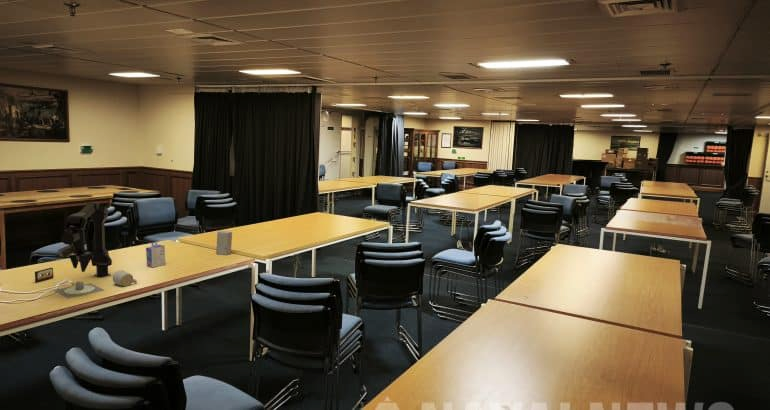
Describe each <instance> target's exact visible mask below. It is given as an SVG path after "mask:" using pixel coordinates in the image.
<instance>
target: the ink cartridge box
mask: <svg viewBox="0 0 770 410" xmlns="http://www.w3.org/2000/svg"><path fill="white" fill-rule="evenodd" d="M145 253H146V254H145V255H146V268H147V267H148V268H156V267H160V266H164V265H166V246H165V245H164V244H163V245H162V244H158V243H157V242H156V241H155V242H151V246H147V247H145Z"/></svg>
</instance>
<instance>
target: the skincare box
mask: <svg viewBox="0 0 770 410" xmlns="http://www.w3.org/2000/svg"><path fill="white" fill-rule="evenodd" d="M216 233H217V234H216V248H215V249H216V251H215V253H216V255H221V256H222V255H223V256H228V255H230V254H232V240H233V231H229V230H220V231H219V230H218V231H216Z"/></svg>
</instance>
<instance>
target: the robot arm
mask: <svg viewBox="0 0 770 410" xmlns="http://www.w3.org/2000/svg"><path fill="white" fill-rule="evenodd" d="M108 215H109V209H108V208H107V207H106V206H105V205H102V204H100V203H99V202H87V203H86V205H85V206H84V207H83V208H82V209H81V210H79V212H76V213H72V214H71V215H69V216H68V217H67V219H66V222H65V224H64V225H65V226H64V229H63V230H64V231H65V232H64V233H63V234H62V235H61V236H60V237H61V238H60V241H61V242H62V243H63V244H64V245H66V246H64V247H62V248H60V249H58V250H57V253H58V255H59V256H60V257H62V258H66V257H68V258H69V260H70V261H71V264H72V267H73V269H77V268H78V265H80V270H81V272H82V273H84V272H85V271H86V269H87V268H88V266H89V264H90V262H91V265H92V267H96V269H95V271H96V272H95V273H96V274H93V276H95V277H97V278H104V277H108V276H109V277H111V276H112V275H111V274H110V273H109V267H110V266H112V264H113V260H112V258H111V257H110V255H109V251H108V250H107V248H106V238H105V237H106V236H105V235H106V233H105V222H106V220H107V219H108ZM88 218H90V219H91V221H92V222H93V224H94V229H93V230H94V231H93V232H94V250H93V251H92V252H89V251H88V250H87V249H86V245H87V241H86V240H85V239H86V238H85V231H86V226H87V223H88Z"/></svg>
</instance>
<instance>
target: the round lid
mask: <svg viewBox="0 0 770 410" xmlns="http://www.w3.org/2000/svg"><path fill="white" fill-rule="evenodd" d="M74 284H75V285H74V286H70V288H69V287H66V288H67V289H66V290H64V293H65V294H70V295H77V294H85V293H89V292H92V291H93V290H95V287H94V286H90V285H84V284H85V282H84V281H76V282H74Z"/></svg>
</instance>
